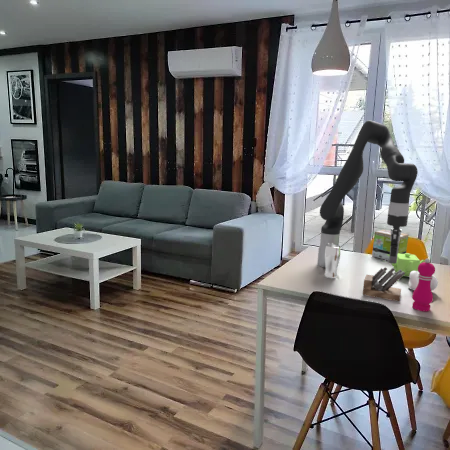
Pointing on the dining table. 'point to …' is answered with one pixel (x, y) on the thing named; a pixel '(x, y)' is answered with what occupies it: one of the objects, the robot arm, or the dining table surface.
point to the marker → (392, 259)
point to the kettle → (406, 263)
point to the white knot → (415, 280)
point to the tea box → (387, 244)
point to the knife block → (386, 291)
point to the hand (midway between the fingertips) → (393, 255)
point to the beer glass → (331, 260)
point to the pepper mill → (423, 287)
